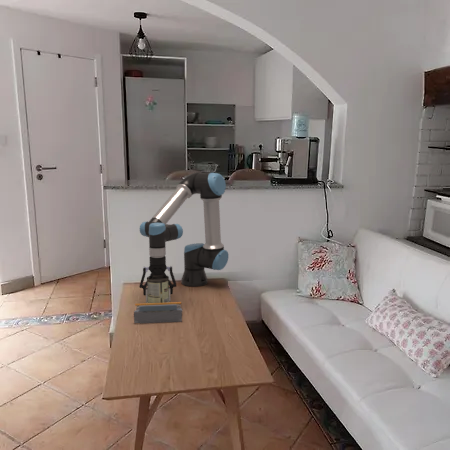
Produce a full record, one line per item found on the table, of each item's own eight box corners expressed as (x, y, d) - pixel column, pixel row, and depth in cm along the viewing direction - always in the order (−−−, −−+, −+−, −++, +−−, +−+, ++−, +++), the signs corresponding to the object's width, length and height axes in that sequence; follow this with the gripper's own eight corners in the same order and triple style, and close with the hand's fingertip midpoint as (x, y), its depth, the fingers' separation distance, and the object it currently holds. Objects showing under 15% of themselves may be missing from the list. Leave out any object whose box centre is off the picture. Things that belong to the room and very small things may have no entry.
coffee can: (150, 301, 211) (150, 274, 209) (171, 302, 210) (170, 274, 208) (144, 309, 201) (144, 280, 199) (166, 310, 200) (165, 281, 198)
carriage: (182, 310, 203) (181, 301, 202) (182, 313, 200) (182, 303, 199) (134, 312, 200) (134, 303, 199) (134, 315, 197) (133, 305, 196)
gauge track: (180, 307, 211) (180, 297, 211) (181, 321, 193) (181, 311, 192) (136, 309, 209) (136, 299, 208) (134, 323, 190) (133, 313, 190)
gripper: (181, 253, 207) (181, 297, 211) (133, 254, 204) (134, 299, 208) (182, 257, 200) (182, 303, 203) (132, 258, 197) (133, 304, 200)
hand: (158, 301), depth 205 cm, fingers closed on coffee can, 10 cm apart
